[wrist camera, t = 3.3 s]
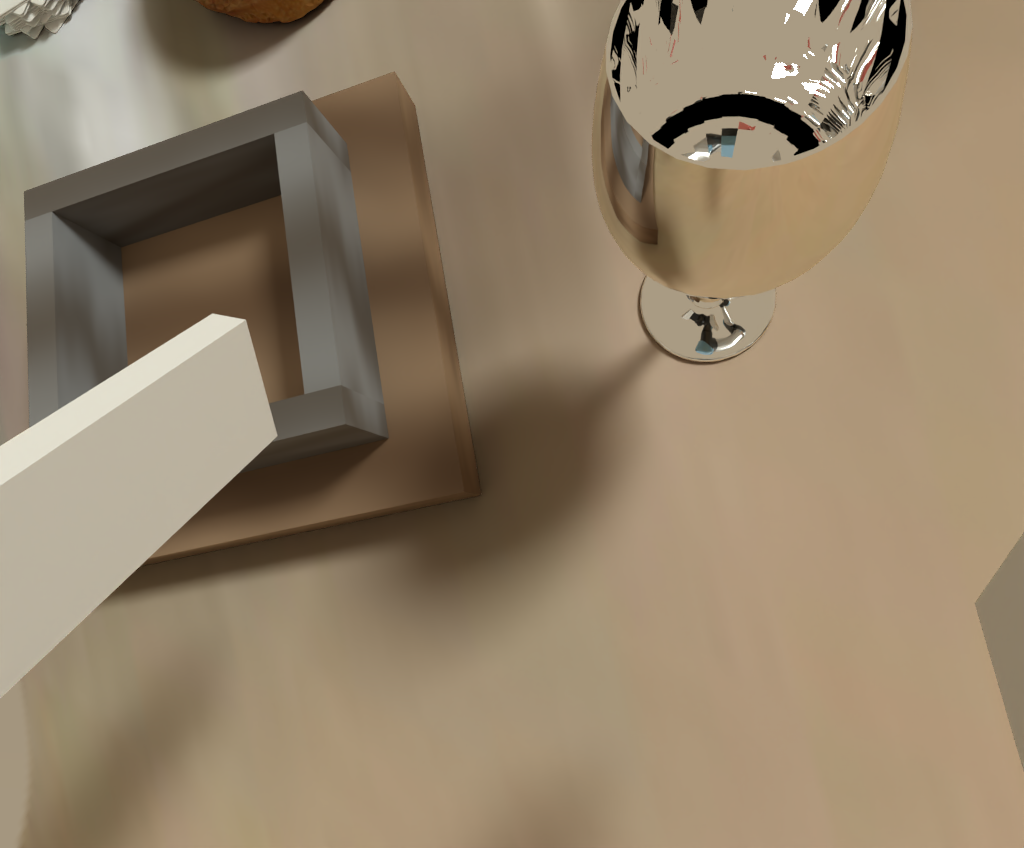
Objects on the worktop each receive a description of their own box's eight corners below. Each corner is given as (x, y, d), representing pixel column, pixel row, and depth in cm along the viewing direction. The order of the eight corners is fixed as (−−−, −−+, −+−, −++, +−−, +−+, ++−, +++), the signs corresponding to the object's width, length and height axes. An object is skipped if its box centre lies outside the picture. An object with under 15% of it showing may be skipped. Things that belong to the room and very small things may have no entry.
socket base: (481, 495, 22) (430, 485, 18) (105, 573, 26) (-24, 583, 21) (415, 105, 26) (357, 8, 21) (89, 217, 29) (-26, 155, 24)
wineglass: (638, 397, 22) (604, 244, 10) (607, 243, 23) (546, -50, 11) (816, 360, 20) (1007, 143, 9) (774, 200, 22) (897, -173, 10)
